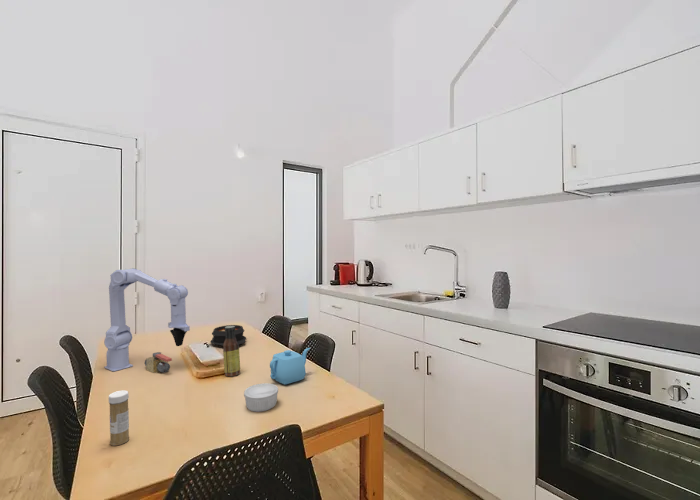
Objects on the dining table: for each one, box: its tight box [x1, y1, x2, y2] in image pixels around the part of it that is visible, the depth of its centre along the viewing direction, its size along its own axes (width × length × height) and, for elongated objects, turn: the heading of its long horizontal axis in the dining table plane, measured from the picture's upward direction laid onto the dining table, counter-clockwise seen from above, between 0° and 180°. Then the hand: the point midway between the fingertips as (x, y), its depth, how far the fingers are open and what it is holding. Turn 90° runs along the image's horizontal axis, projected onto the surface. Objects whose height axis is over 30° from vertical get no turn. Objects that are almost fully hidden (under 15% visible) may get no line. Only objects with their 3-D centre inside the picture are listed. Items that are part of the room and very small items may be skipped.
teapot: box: [269, 347, 311, 385], centre depth 139 cm, size 12×18×12 cm
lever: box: [152, 351, 173, 362], centre depth 148 cm, size 3×14×1 cm, turn 51°
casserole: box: [209, 324, 247, 347], centre depth 191 cm, size 25×19×8 cm
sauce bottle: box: [222, 325, 241, 377], centre depth 144 cm, size 6×6×20 cm
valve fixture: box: [144, 356, 171, 374], centre depth 152 cm, size 14×6×6 cm, turn 55°
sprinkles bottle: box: [108, 390, 130, 447], centre depth 96 cm, size 5×5×13 cm
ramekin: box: [243, 382, 279, 413], centre depth 116 cm, size 11×11×5 cm
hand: (179, 345), depth 151 cm, fingers closed
